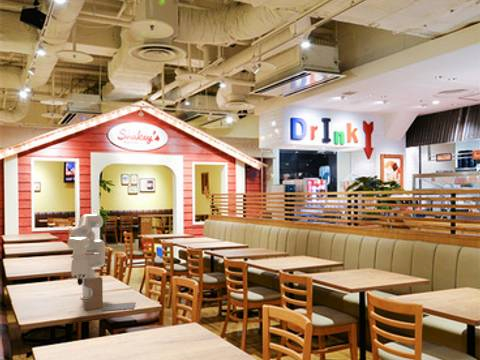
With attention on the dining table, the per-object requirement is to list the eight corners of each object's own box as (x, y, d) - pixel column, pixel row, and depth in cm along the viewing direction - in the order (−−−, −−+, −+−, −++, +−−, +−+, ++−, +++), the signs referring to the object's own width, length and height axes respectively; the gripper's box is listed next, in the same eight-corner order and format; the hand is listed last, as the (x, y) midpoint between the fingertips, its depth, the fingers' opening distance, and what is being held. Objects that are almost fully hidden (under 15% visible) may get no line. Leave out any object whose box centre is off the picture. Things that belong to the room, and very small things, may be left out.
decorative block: (85, 310, 307) (85, 279, 308) (84, 308, 312) (83, 278, 313) (102, 308, 313) (102, 278, 313) (101, 306, 318) (100, 276, 318)
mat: (105, 305, 320) (105, 304, 320) (135, 303, 323) (135, 302, 323) (102, 311, 304) (102, 310, 304) (133, 309, 307) (133, 308, 307)
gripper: (66, 258, 307) (67, 286, 306) (89, 257, 309) (90, 285, 309) (68, 257, 314) (69, 284, 314) (91, 255, 316) (92, 283, 316)
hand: (80, 284), depth 311 cm, fingers closed
